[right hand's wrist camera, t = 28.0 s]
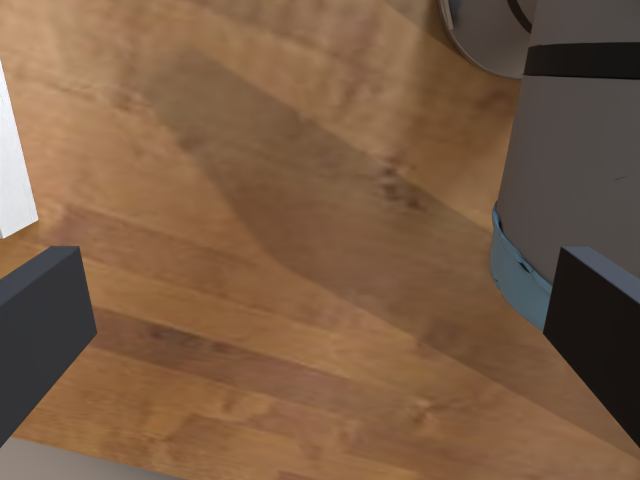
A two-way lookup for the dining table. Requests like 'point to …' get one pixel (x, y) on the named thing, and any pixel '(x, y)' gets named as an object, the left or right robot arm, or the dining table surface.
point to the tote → (12, 172)
